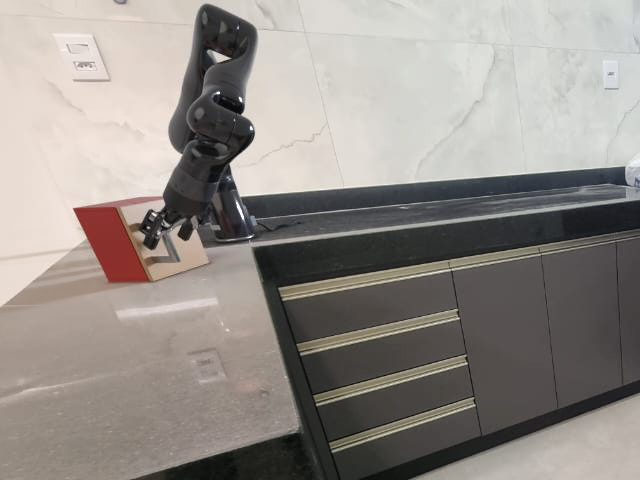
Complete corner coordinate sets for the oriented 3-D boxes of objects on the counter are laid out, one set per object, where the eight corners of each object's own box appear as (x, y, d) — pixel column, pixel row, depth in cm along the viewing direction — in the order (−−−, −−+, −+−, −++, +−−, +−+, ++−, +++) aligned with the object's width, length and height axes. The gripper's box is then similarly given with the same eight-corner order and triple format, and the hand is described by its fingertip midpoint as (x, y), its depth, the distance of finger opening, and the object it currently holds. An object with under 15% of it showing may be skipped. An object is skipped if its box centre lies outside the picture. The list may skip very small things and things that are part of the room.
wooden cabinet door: (230, 262, 133) (205, 195, 126) (177, 280, 119) (144, 206, 112) (206, 262, 133) (179, 196, 126) (149, 281, 119) (115, 207, 112)
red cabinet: (205, 263, 133) (177, 195, 126) (148, 281, 119) (114, 206, 112) (169, 264, 134) (139, 196, 127) (109, 282, 120) (72, 208, 113)
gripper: (179, 205, 106) (153, 262, 112) (234, 195, 119) (207, 246, 125) (144, 179, 104) (118, 238, 110) (203, 171, 117) (177, 224, 123)
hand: (166, 242), depth 118 cm, fingers open, 8 cm apart
